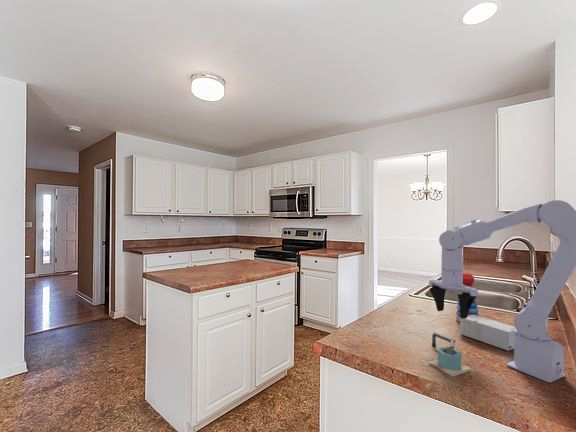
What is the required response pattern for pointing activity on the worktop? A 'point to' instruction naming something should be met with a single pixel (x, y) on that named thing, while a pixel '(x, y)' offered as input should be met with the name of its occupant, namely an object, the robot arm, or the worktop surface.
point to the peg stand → (448, 371)
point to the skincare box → (488, 331)
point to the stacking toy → (468, 281)
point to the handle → (443, 339)
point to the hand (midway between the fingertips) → (451, 314)
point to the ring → (449, 359)
